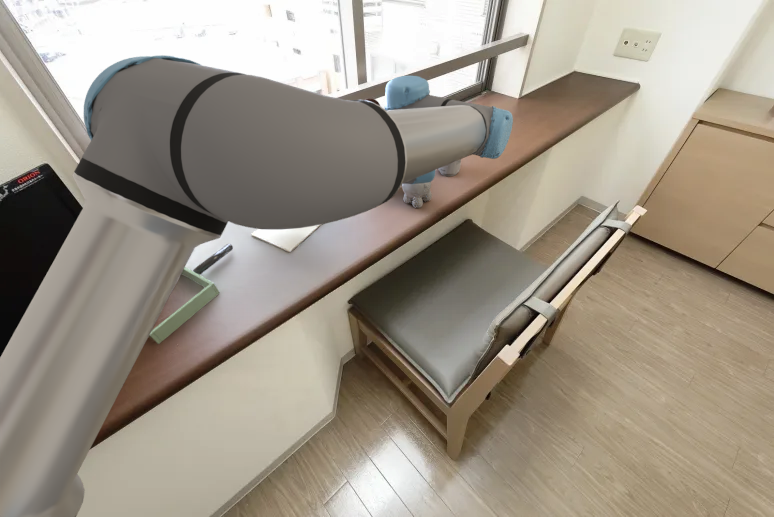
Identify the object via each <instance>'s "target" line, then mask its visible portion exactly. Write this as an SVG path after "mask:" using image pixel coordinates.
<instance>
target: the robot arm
mask: <svg viewBox="0 0 774 517" xmlns="http://www.w3.org/2000/svg"><path fill="white" fill-rule="evenodd" d="M384 92H385V94H384V95H385V96H384V99H385V100H384V107H383V106H381V105H380V106H379V105H377V104H375V103H373V102H370V101H366V100H365V99H343V98H339V97H333V96H329V95H326V94H321V93H317V92H313V91H312V90H311V91H310V90H308V89H303V88H300V87H296V86H293V85H290V84H286V83H283V82H280V81H278V80H272V79H270V78H267V77H263V76H258V75H252V74H247V73H246V74H245V73H241V72H237V71H233V70H226V69H223V68H217V67H213V66H208V65H202V64H201V63H198V62H196V61H193V60H191V59H187V58H183V57H177V56H174V55H163V54H162V55H152V56H151V55H144V56H143V55H142V56H141V55H140V56H133V57H128V58H124V59H121V60H120V61H116V62H115V63H113V64H111V65H109V66H107V67H106V68H105V69H104V70H103V71H101V72H100V73H99V74H98V75H97V77H96V78H94V79H93V81H92V82H91V84H90V85H89V88H88V90H87V92H86V94H85V98H84V102H83V123H84V126H85V128H86V133H87V135H88V138H89V140H90V142H89V144H88V145H87V147H86V149H85V151H84V152H83V154H82V156H81V159H80V160H79V162H78V164H77V165H76V167H75V169H74V171H73V172H72V175H71V176H72V178H73V180H74V182H75V184H76V186H77V188H78V190H79V191H80V194H81V195H82V197H83V199H84V200H83V207H82V209H81V211H80V212H79V215H78V216H77V218H76V220H75V221H74V223H73V226H72V227H71V229H70V231H69V233H68V234H67V237H66V238H65V240H64V242H63V243H62V245H61V247H60V248H59V250H58V252H57V255H56V256H55V258H54V260H53V262H52V264H51V265H50V267H49V269H48V271H47V272H46V275H45V276H44V277H43V280H42V281H41V283H40V285H39V287H38V289H37V290H36V292H35V294H34V295H33V297H32V299H31V301H30V303H29V305H28V306H27V308H26V310H25V312H24V314H23V316H22V317H21V319H20V321H19V323H18V324H17V327H16V328H15V329H14V331H13V333H12V336H11V337H10V339H9V341H8V343H7V345H6V346H5V348H4V350H3V352H2V353H1V356H0V517H77V516H78V514H79V512H80V510H81V508H82V506H83V503H84V498H85V486H84V483H83V480H82V479H81V477H80V475H79V474H78V473H79V471H80V469H81V467H82V465H83V464H84V462H85V459H86V458H87V456H88V454H89V452H90V450H91V448H92V446H93V444H94V442H95V441H96V439H97V437H98V435H99V432H100V431H101V429H102V427H103V425H104V423H105V421H106V419H107V417H108V416H109V414H110V411H111V409H112V407H113V406H114V404H115V402H116V400H117V399H118V396H119V394H120V393H121V390H122V388H123V387H124V385H125V383H126V381H127V379H128V377H129V375H130V373H131V371H132V369H133V367H134V366H135V364H136V361H137V359H138V358H139V356H140V354H141V353H142V350H143V348H144V347H145V344H146V342H147V341H148V338H149V335H150V333H151V331H152V330H153V329H154V328H155V325H156V323H157V322H158V319H159V317H160V315H161V314H162V312H163V310H164V309H165V308H164V307H165V306H166V304H167V303H168V300H169V298H170V296H171V294H172V292H173V290H174V289H175V287H176V285H177V283H178V281H179V279H180V278H181V275H182V274H181V273H182V271H183V269H184V268H185V267H186V266H187V264H188V261H189V260H190V258H191V257H192V254H193V252H194V251H195V248H197V247H199V246H200V245H202V244H206V243H209V242H213V241H214V240H218V239H220V238H221V237H222V235H223V233H224V232H225V229H226V227H227V225H228V223H231V224H234V225H235V226H236V225H237V226H240V227H246V228H251V229H256V230H257V229H269V230H281V229H294V228H303V227H309V226H315V225H321V224H322V225H325V224H329V223H333V222H338V221H341V220H344V219H348V218H351V217H355V216H357V215H360V214H363V213H365V212H368V211H371V210H373V209H375V208H377V207H379V206H381V205H383V204H385V203H387V202H389V201H390V200H391V199H392V198H393V197H394V196H395V195H396V194H397V193H398V191H399V190H400V188H402V186H401V185H402V184H420V183H428V182H431V183H432V181H433V180H434V179H435V176H436V172H437V170H438V169H439V168H441V167H443V166H446V165H448V164H451V163H453V162H455V161H458V160H460V159H461V160H463V159H464V158H467V157H469V156H473V155H474V156H478V157H479V158H487V159H491V160H495V159H498V158H499V157H501V156H502V155H503V153H504V151H505V149H506V148H507V145H508V143H509V140H510V136H511V133H512V130H513V124H514V117H513V114H512V112H511V111H509V110H507V109H503V108H499V107H496V106H494V105H492V106H488V105H485V104H477V103H472V102H466V101H461V100H455V99H452V98H447V97H443V96H442V97H441V96H437V95H432V94H430V92H431V90H430V84H429V82H428V80H427V79H425V78H423V77H422V76H418V75H401V76H397V77H394V78H392V79H390V80H389V81H388V82H387V83H386V85H385V91H384ZM322 225H321V226H322Z"/></svg>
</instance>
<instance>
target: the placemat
mask: <svg viewBox="0 0 774 517" xmlns="http://www.w3.org/2000/svg"><path fill="white" fill-rule="evenodd" d="M321 226H323V224H321V225H315V226H309V227H303V228H294V229H281V230H269V229H256V230H255V231H253V232H252V233H251V234H250V235H251V236H252V237H254V238H256V239H259V240H261V241H263V242H264V243H265V242H266V243H267V244H270V245H272V246H274V247H276V248H279V249H280V250H283V251H285V252H288V253H292V251H294V250H295V249H296V248H298V247H299V245H301V244H302V243H303V242H304V241H305V240H306V239H307V238H308V237H310V236H311V235H312V234H313V233H314V232H315V231H316V230H318V228H320V227H321Z"/></svg>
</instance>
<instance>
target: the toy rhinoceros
mask: <svg viewBox="0 0 774 517" xmlns="http://www.w3.org/2000/svg"><path fill="white" fill-rule="evenodd" d="M401 188H402V191H403V193H404V194H403V198H402V200H403V202H404V203H405V204H412V207H413V208H415V209H420V208H422V207H423V204H424V202H430V201H431V200H432V196H433V195H432V191H431V188H432V181H431V182H428V183H420V184H402V185H401Z"/></svg>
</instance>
